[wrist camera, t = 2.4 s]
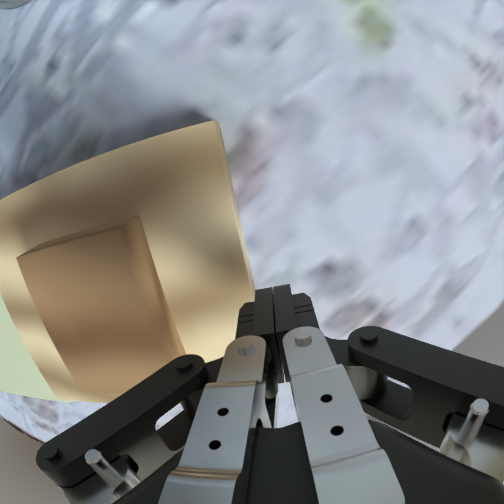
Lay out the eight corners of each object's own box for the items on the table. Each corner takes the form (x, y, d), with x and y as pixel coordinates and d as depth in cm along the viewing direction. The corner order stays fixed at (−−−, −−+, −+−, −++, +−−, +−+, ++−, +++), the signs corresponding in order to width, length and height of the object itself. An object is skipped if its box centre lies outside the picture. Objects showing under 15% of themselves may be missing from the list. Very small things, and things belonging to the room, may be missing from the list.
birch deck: (-9, 207, 16) (-27, 214, 14) (219, 123, 15) (213, 120, 13) (67, 384, 21) (57, 398, 19) (274, 375, 20) (275, 395, 18)
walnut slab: (41, 243, 15) (15, 257, 12) (140, 215, 14) (118, 228, 12) (96, 367, 18) (81, 391, 15) (190, 363, 17) (181, 392, 15)
